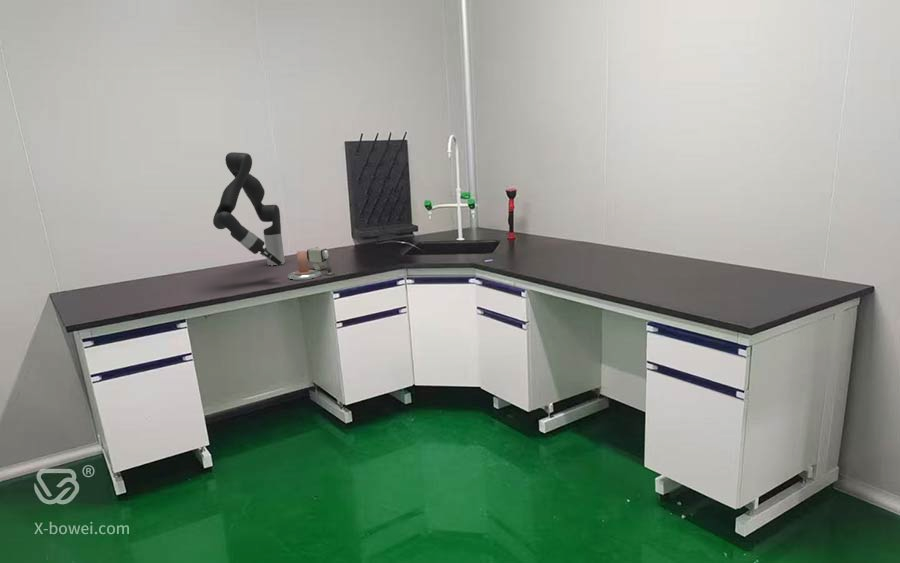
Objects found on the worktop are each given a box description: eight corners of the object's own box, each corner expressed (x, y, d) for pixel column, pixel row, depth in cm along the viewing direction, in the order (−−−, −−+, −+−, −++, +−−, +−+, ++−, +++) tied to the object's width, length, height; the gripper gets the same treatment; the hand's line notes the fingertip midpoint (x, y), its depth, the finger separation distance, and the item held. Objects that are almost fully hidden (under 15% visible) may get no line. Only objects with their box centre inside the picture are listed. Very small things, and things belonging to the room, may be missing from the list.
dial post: (323, 274, 292) (321, 249, 289) (331, 272, 295) (329, 248, 292) (328, 275, 289) (325, 250, 286) (335, 274, 292) (333, 249, 289)
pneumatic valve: (326, 270, 300) (323, 248, 297) (307, 270, 304) (304, 247, 301) (331, 268, 305) (329, 246, 302) (313, 267, 309) (310, 245, 306)
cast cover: (293, 273, 290) (290, 252, 287) (307, 270, 295) (305, 249, 292) (300, 276, 284) (297, 254, 281) (314, 273, 289) (312, 251, 286)
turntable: (282, 277, 291) (282, 273, 291) (311, 271, 301) (311, 268, 300) (296, 282, 279) (296, 278, 279) (326, 275, 289) (326, 272, 288)
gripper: (259, 238, 270) (286, 259, 278) (254, 234, 283) (280, 254, 290) (249, 250, 269) (276, 271, 277) (244, 246, 281) (271, 266, 289)
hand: (278, 262), depth 283 cm, fingers open, 8 cm apart
